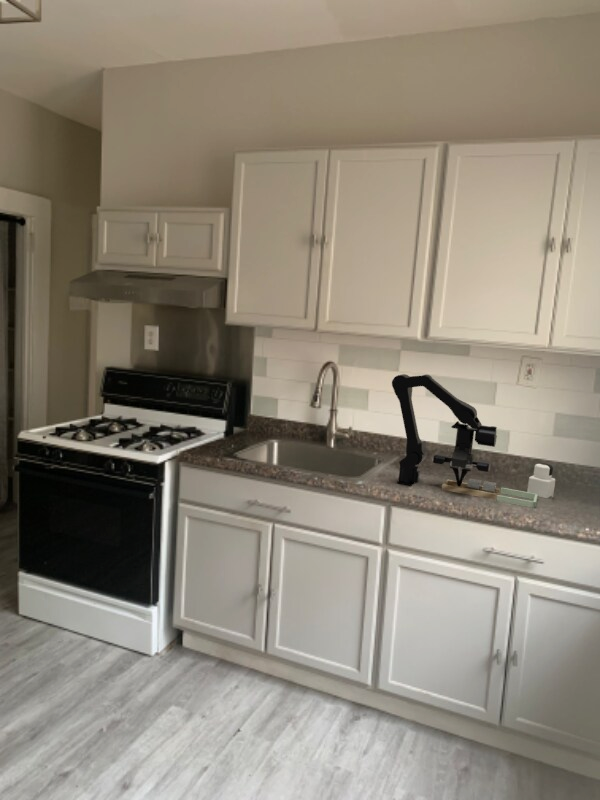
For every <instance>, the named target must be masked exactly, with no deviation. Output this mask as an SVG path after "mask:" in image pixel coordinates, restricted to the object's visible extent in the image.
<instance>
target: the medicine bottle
mask: <svg viewBox="0 0 600 800" xmlns="http://www.w3.org/2000/svg"><path fill="white" fill-rule="evenodd" d="M533 468H534V469H533V475H531V476H529V477H528V480H527V489H526V492H529V493H535V494H538V497H540V498H544V499H549V498H551V499H552V498H553V497H554V492H555V484H556V478H554V477H553V472H554V467H553V466H552V465H551V464H549V463H543V462H538V463H535V464H534V467H533Z"/></svg>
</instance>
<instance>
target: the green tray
mask: <svg viewBox="0 0 600 800" xmlns="http://www.w3.org/2000/svg"><path fill="white" fill-rule="evenodd" d="M500 494H504V495H500ZM500 494H498V495H497V498H496V501H497V502H500V503H506V504H512V505H518V506H522V507H528V508H532V509H533V508H534V509H535V508H536V506H537V502H538V497H539V496H538V494H535V493H529V492H527V491H523V490H517V489H513V488H512V489H511V488H507V487H501V488H500ZM506 495H508V496H506ZM510 496H513V497H510ZM516 497H520V498H516ZM521 498H522V499H521ZM523 498H525V499H523ZM529 499H530V500H529Z"/></svg>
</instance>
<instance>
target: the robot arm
mask: <svg viewBox="0 0 600 800" xmlns="http://www.w3.org/2000/svg"><path fill="white" fill-rule="evenodd" d="M391 386H392V389H393V391H394V394H395V395H396V398H397V399H398V402H399V407H400V409H401V410H400V411H401V416H402V421H403V425H404V431H405V437H406V447H405V457H404V458H402V459H401V460H400V461H399V473H398V480H396V483H397V484H402V485H406V486H413V485H415V483H417V484H418V483H419V482H420V475H421V471H419V470H420V466H419V465H420V464H421V463H422V462H423V461H425V459H426V457H427V453H429V451H428V449H427V444H426V440H424V441H422V439H421V438H420V435H419V432H418V426H417V421H416V415H415V411H414V410H415V409H414V405H413V401H412V399H413V398H412V397H413V388H418V387H423V388H425V389H426V390H428V391H429V392H430V393H431V394H432V395H433V396H435V397H436V399H438V400H439V401H441V402H442V403H443V404H444V405H446V407H448V408H449V409H450V410H451V412H452V414H453V415H454V416H455V417H456V419H457V420H458V421H456V422H455V423H454V424H453V425H451V426H450V427H451V428H452V429H456V434H455V436H456V437H455V445H454V450H453V452H452V456H451V457H450V456H449V455H448V454H447V453H443V452H438V453H436V454H435V455H434V456H433V461H432V463H434V464H437V465H443V464H444V463H448V464H449V465H450V466H449V469H452V470H453V473H454V476H455V481H457V485H458V486H459V487H460V486H461V484H462V482H463V481H464V480H465V478H466V475H467V474H468V472H472V470H474V468H476V470H477V471H480V472H485V473H489V471H490V470H491V465H492V464H491V461H490V460H486V459H485V460H484V459H478V461H475V460H474V453H473V445H474V442H475V443H477V445H478V446H487V447H492V448H493V447H494V448H496V443H497V438H498V435H497V428H498V427H497V426H495V425H494V426H488V425H482V424H483V423H481V421H480V419H479V418H478V411H477V409H476V407H474V406H472V405H470V404H469V403H467V402H466V401H464V400H461V399H459V398H457V397H456V396H455V395H453V393H451V392H450V391H449V390H447V388H445V387H443V385H442V384H440V383H439V382H437V381H436V380H435V379H434V378H433V377H432V376H431V375H430V374H423V375H413V376H411V375H410V376H409V374H405V373H402V374H399V375H396V376H395V377H394V378H393V379H392V380H391Z"/></svg>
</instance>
